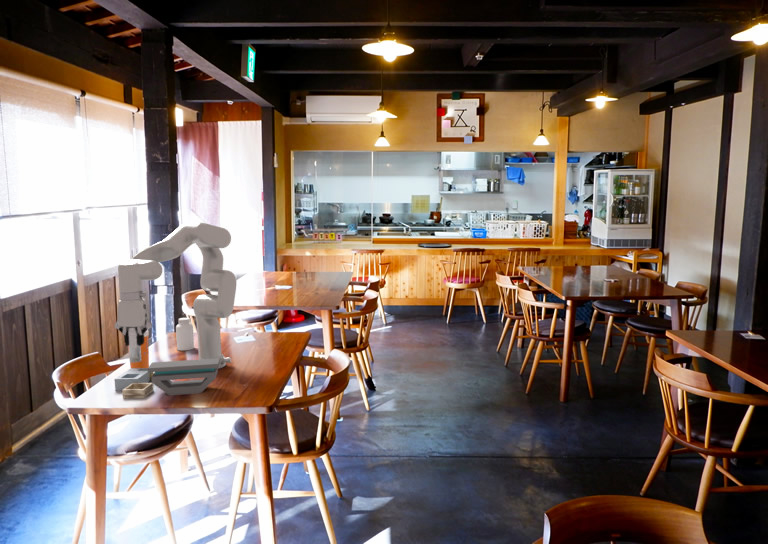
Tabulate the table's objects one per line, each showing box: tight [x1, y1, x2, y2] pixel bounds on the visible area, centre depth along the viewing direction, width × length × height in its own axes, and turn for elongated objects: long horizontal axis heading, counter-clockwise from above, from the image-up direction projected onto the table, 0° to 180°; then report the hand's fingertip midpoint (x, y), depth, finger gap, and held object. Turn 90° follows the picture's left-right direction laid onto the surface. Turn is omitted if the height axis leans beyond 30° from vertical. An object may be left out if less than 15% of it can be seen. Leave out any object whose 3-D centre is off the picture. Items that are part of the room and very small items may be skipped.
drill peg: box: [128, 327, 141, 363], centre depth 218 cm, size 4×4×14 cm
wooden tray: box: [121, 382, 154, 399], centre depth 221 cm, size 8×8×3 cm
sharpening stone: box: [148, 358, 220, 396], centre depth 223 cm, size 25×8×11 cm, turn 100°
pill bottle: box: [175, 317, 195, 352], centre depth 285 cm, size 8×8×15 cm
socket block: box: [114, 367, 154, 391], centre depth 232 cm, size 9×14×4 cm, turn 178°
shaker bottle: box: [127, 329, 150, 369], centre depth 248 cm, size 9×9×20 cm
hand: (134, 344), depth 218 cm, fingers closed on drill peg, 4 cm apart
